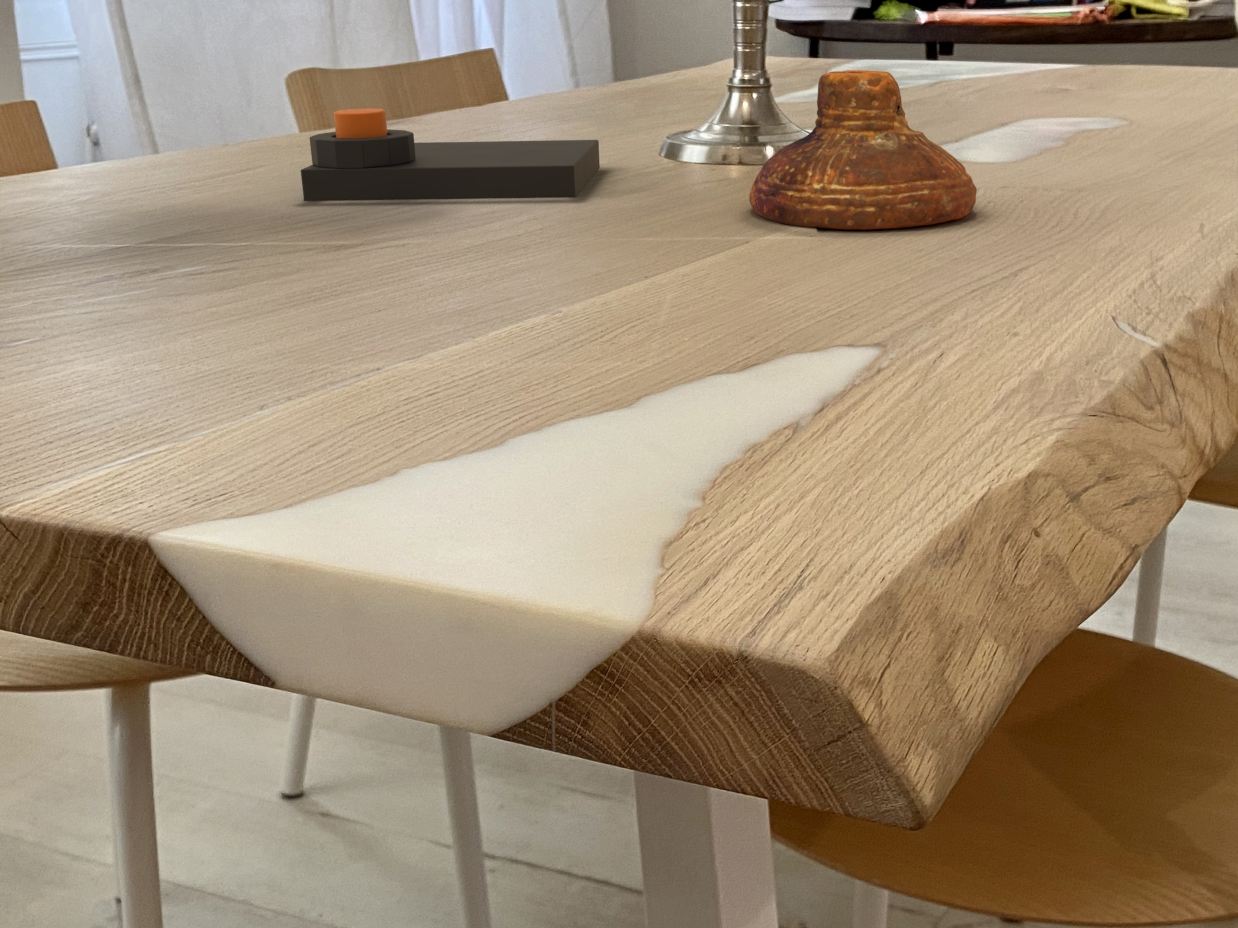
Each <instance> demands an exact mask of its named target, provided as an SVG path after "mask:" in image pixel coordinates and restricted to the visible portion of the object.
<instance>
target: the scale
mask: <svg viewBox="0 0 1238 928" xmlns="http://www.w3.org/2000/svg"><path fill="white" fill-rule="evenodd" d="M414 135H415V134H414V132H412V131H409V130H405V129H389V128H387V136H381V137H369V138H336V131H330V132H323V133H316V134H314V135H312V136H309V146H310V154H311V163H312V164H310V165H308V166H306V167H304V168H301V169H300V176H301V177H300V178H301V184H302V185H301V186H302V195H303V202H331V201H333V202H335V201H337V202H338V201H402V200H403V201H407V200H408V201H409V200H410V201H411V200H416V201H417V200H477V199H479V200H481V199H483V200H484V199H485V200H486V199H488V200H489V199H544V198H545V199H547V198H548V199H550V198H551V199H552V198H553V199H554V198H558V199H559V198H562V199H563V198H576V197H577V196H578V195H579V193H581V191H582V190H583V189H584V188H585V186H586V185H587V184H588V183H589V182H590V180H591V179H592V178H593V177H594V176H595V175H596V173H597V172H598V170H600V168H601V167H600V166H601V165H600V141H599V139H565V140H564V139H562V140H561V139H560V140H559V139H557V140H555V139H554V140H552V139H551V140H501V141H500V140H498V141H439V142H437V141H436V142H435V141H434V142H415V136H414Z"/></svg>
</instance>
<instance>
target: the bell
mask: <svg viewBox="0 0 1238 928" xmlns="http://www.w3.org/2000/svg"><path fill="white" fill-rule="evenodd" d="M817 84H818V85H817V97H816V98H817V99H816V107H817V110H816V115H817V118H816V119H815V122H814V124H815V126H814V128H813V130H812V131H811V132H810V133H809V134H807V135H805V136H804V137H802V138H800V139H797V140H794V141H793V142H790V143H789V144H787V145H785V146H784V147H783V148H780V149H779V150H778V151H777V152H775V154H773V155H772V156H770V157H769V158H768V159H767V160H766V161H765V163H764V164H763V166H762V167H761V168H760V171H759V172H758V173H757V175H756V177H755V179H754V181H753V183H752V184H751V185H752V186H751V188H750V190H749V198H748V199H749V200H748V201H749V203H750V206H751V208H752V210H753V211H754V212H755V213H756V214H757V215H759V216H760V217H762V218H764V219H766V220H769V221H773V222H777V223H780V224H783V225H788V226H789V225H791V226H796V227H803V228H804V227H806V228H818V229H819V228H820V229H831V230H833V229H834V230H859V231H860V230H861V231H862V230H879V229H883V230H886V229H900V228H902V229H903V228H913V227H920V226H929V225H936V224H941V223H946V222H950V221H954V220H955V221H956V220H960V219H962V218H963V217H966V216H968V215H969V214H971V212H972V211H973V209H974V207H975V205H976V202H977V199H976V198H977V191H978V189H977V186H976V185H975V183H974V182H973V178H972V176H971V175H970V174H969V173H968V172H967V170H966V167H965V166H964V165H963V164H962V163H961V161H959V160H958V159H957V158H956V157H955V156H953V155H952V154H951V153H950V152H948V151H947V150H946V149H944V148H943V147H942V146H940V145H938V144H936V143H935V142H933V141H931V140H930V139H928V138H927V137H926V135H925V134H924V132H922V131H920V130H914V129H913V128H911V127H910V126H909V123H908V120H907V118H906V113H905V110H904V108H903V106H902V102H903V101H902V96H901V90H900V86H899V84H898V82H897V80H896V79H895V77H894V76H893V74H891V72H889V71H883V70H867V69H866V70H865V69H855V70H854V69H852V70H851V69H849V70H848V69H847V70H835V71H829V72H827V73H823V74H822V75H821V76H820V77H819V80H818V83H817Z"/></svg>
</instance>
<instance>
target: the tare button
mask: <svg viewBox="0 0 1238 928" xmlns="http://www.w3.org/2000/svg"><path fill="white" fill-rule="evenodd" d="M333 119H334V130H335V131H334V132H336V138H369V137H381V136H387V129H388V124H387V114H386V110H385V109H384V108H370V107H369V108H367V107H366V108H347V109H339V110H335V111H334V112H333Z"/></svg>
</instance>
